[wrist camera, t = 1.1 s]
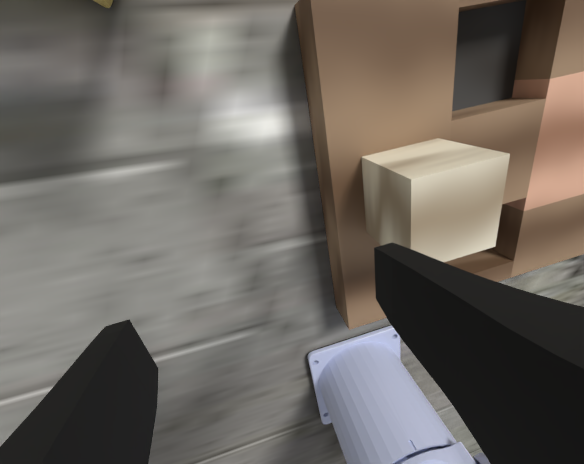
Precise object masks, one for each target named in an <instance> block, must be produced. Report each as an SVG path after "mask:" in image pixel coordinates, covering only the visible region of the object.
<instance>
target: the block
mask: <svg viewBox="0 0 584 464" xmlns="http://www.w3.org/2000/svg"><path fill="white" fill-rule="evenodd" d="M509 158H510V154H509V153H504V152H500V151H495V150H490V149H486V148H481V147H477V146H472V145H467V144H463V143H458V142H453V141H449V140H444V139H440V138H437V139H433V140H429V141H425V142H420V143H416V144H412V145H408V146H404V147H400V148H396V149H392V150H388V151H383V152H379V153H375V154H371V155H367V156H363V157H361V159H362V174H363V188H364V203H365V218H366V232H367V233H368V234H369V235H370V236H371V237H372V238H374V239H375V240H376V241H377V242H378V243H379V244H380V245H381V246H382V245H385V244H388V243H392V242H393V243H396V244H399V245H401V246H404V247H407V248H409V249H412V250H414V251H417V252H419V253H422V254H424V255H427V256H429V257H432V258H434V259H437V260H439V261H442V262H447V261H450V260H453V259H456V258H460V257H463V256H466V255H469V254H473V253H476V252H479V251H483V250H486V249H489V248H492V247H495V245H496V239H497V233H498V227H499V220H500V214H501V208H502V202H503V195H504V189H505V183H506V177H507V170H508V164H509Z"/></svg>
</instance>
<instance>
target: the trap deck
mask: <svg viewBox="0 0 584 464" xmlns="http://www.w3.org/2000/svg"><path fill="white" fill-rule="evenodd" d="M295 12H296V19H297V27H298V34H299V41H300V48H301V56H302V63H303V70H304V77H305V85H306V92H307V99H308V106H309V113H310V121H311V128H312V135H313V142H314V150H315V157H316V164H317V171H318V179H319V186H320V193H321V200H322V208H323V215H324V222H325V229H326V237H327V244H328V251H329V258H330V266H331V273H332V280H333V287H334V295H335V302H336V307H337V309H338V311H339V313H340V314H341V316H342V318H343V320H344V321H345V323H346V325H347V327H348V328H349V330H350V329H353V328H356V327H359V326H362V325H365V324H368V323H372V322H375V321H378V320H381V319H384V318H387V317H386V315H385V314H384V312H383V310H382V309H381V307H380V305H379V303H378V302H377V300H376V291H375V262H374V248H375V247H378V246H381V245H380V244H379V243H378V242H377V241H376V240H375V239H374V238H372V237H371V236H370V235H369V234H368V233H367V232H366V218H365V203H364V188H363V174H362V159H361V157H363V156H367V155H371V154H375V153H379V152H383V151H388V150H392V149H396V148H400V147H404V146H408V145H412V144H416V143H420V142H425V141H429V140H433V139H437V138H440V139H444V140H449V141H453V142H458V143H463V144H467V145H472V146H477V147H481V148H486V149H490V150H495V151H500V152H504V153H509V154H510V158H509V164H508V170H507V177H506V183H505V189H504V195H503V202H502V208H501V214H500V220H499V227H498V233H497V239H496V245H495V247H492V248H489V249H486V250H483V251H479V252H476V253H473V254H469V255H466V256H463V257H460V258H456V259H453V260H450V261H447V262H444V263H447V264H449V265H452V266H454V267H457V268H459V269H462V270H465V271H467V272H470V273H473V274H475V275H478V276H481V277H484V278H487V279H490V280H492V281H495V282H498V281H502V280H505V279H508V278H511V277H514V276H517V275H520V274H523V273H526V272H529V271H532V270H536V269H539V268H542V267H545V266H548V265H551V264H554V263H557V262H560V261H563V260H566V259H570V258H573V257H576V256H579V255H582V254H584V0H299V1H298V2H297V3H296V4H295Z"/></svg>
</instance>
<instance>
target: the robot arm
mask: <svg viewBox="0 0 584 464" xmlns="http://www.w3.org/2000/svg"><path fill="white" fill-rule="evenodd" d="M374 262H375V291H376V300H377V302H378V303H379V305H380V307H381V309H382V310H383V312H384V314H385V315H386V317H387V319H388V320H389V322H390V323H391V326H388V327H385V328H381V329H378V330H375V331H372V332H369V333H366V334H363V335H360V336H357V337H354V338H351V339H348V340H345V341H342V342H339V343H336V344H333V345H330V346H327V347H323V348H320V349H317V350H314V351H312V352H310V353H309V354H308V361H309V366H310V371H311V375H312V380H313V384H314V389H315V394H316V398H317V403H318V407H319V412H320V417H321V421H322V423H323V424H329V423H332V424H333V426H334V429H335V432H336V435H337V438H338V440H339V443H340V446H341V449H342V451H343V454H344V457H345V460H346V462H347V464H584V307H581V306H577V305H573V304H569V303H565V302H561V301H558V300H554V299H551V298H547V297H544V296H540V295H536V294H533V293H529V292H526V291H523V290H520V289H516V288H513V287H510V286H507V285H504V284H501V283H498V282H495V281H492V280H490V279H487V278H484V277H481V276H478V275H475V274H473V273H470V272H467V271H465V270H462V269H459V268H457V267H454V266H452V265H449V264H447V263H444V262H442V261H439V260H437V259H434V258H432V257H429V256H427V255H424V254H422V253H419V252H417V251H414V250H412V249H409V248H407V247H404V246H401V245H399V244H396V243H393V242H392V243H388V244H385V245H382V246H378V247H375V248H374ZM400 337H401V338H402V340H403V341H404V342H405V344H406V345H407V346H408V347H409V349H410V350H411V351H412V353H413V354H414V355H415V356H416V358H417V359H418V360H419V361H420V363H421V364H422V365H423V367H424V368H425V369H426V370H427V372H428V373H429V374H430V375H431V377H432V378H433V379H434V381H435V382H436V383H437V384H438V386H439V387H440V388H441V389H442V391H443V392H444V394H445V395H446V396H447V398H448V399H449V400H450V402H451V403H452V405H453V406H454V407H455V409H456V410H457V412H458V414H459V415H460V417H461V418H462V420H463V421H464V423H465V424H466V426H467V427H468V429H469V430H470V432H471V434H472V435H473V437H474V438H475V440H476V441H477V443H478V444H479V446H480V448H481V449H482V451H483V452H484V453H479V454H477V455H475V456H473V458H474V459H473V458H472V457H471V455H470V454H469V452H468V451H467V450H466V448H465V447H464V445H463V444H462V443H461V442H457V441H456V440H455V439H454V437H453V436H452V434H451V433H450V431H449V430H448V429H447V427H446V426H445V424H444V423H443V421H442V420H441V418H440V417H439V416H438V414H437V413H436V411H435V410H434V408H433V407H432V406H431V404H430V403H429V401H428V400H427V398H426V397H425V395H424V394H423V393H422V391H421V390H420V388H419V387H418V385H417V384H416V383H415V381H414V380H413V378H412V377H411V375H410V374H409V372H408V371H407V370H406V368H405V367H404V365H403V364H402V362H401V361H400ZM157 394H158V367H157V366H156V364H155V362H154V361H153V359H152V357H151V356H150V354H149V352H148V350H147V349H146V347H145V345H144V344H143V342H142V340H141V339H140V337H139V335H138V334H137V332H136V330H135V328H134V327H133V325H132V323H131V322H130V320H126V321H123V322H119V323H116V324H112V325H109V326H106V327H105V328H104V329H103V330H102V331H101V332H100V333H99V334H98V335H97V336H96V338H95V339H94V340H93V341H92V342H91V343H90V344H89V346H88V347H87V348H86V349H85V350H84V352H83V353H82V354H81V355H80V356H79V357H78V359H77V360H76V361H75V362H74V363H73V365H72V366H71V367H70V368H69V369H68V371H67V372H66V373H65V374H64V375H63V376H62V378H61V379H60V380H59V381H58V382H57V383H56V385H55V386H54V387H53V388H52V389H51V391H50V392H49V393H48V394H47V395H46V396H45V398H44V399H43V400H42V401H41V402H40V403H39V405H38V406H37V407H36V408H35V409H34V410H33V411H32V412H31V413H30V415H29V416H28V417H27V418H26V419H25V420H24V421H23V422H22V423H21V425H20V426H19V427H18V428H17V429H16V430H15V431H14V432H13V433H12V435H11V436H10V437H9V438H8V439H7V440H6V441H5V442H4V443H3V444H2V446H1V447H0V464H148V461H149V454H150V448H151V442H152V436H153V429H154V423H155V416H156V409H157ZM474 460H475V461H474Z"/></svg>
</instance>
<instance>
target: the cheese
mask: <svg viewBox="0 0 584 464" xmlns="http://www.w3.org/2000/svg"><path fill="white" fill-rule="evenodd" d="M93 1H95V2H97V3H98V4H100V5H102V6H103V7H106V8H110V7H111V5H112V2H113V0H93Z"/></svg>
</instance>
